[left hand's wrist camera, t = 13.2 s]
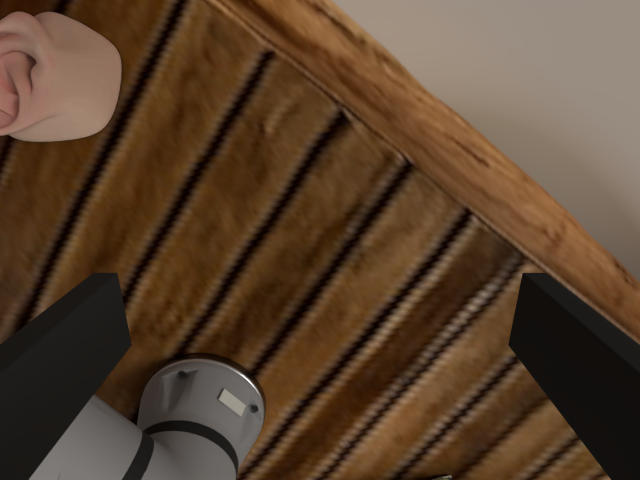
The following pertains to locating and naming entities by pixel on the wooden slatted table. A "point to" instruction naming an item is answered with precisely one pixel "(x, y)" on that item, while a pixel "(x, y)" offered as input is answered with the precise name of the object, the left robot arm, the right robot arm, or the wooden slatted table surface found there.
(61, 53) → the anatomical model
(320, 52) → the wooden slatted table surface
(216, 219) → the wooden slatted table surface
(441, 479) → the fossil
